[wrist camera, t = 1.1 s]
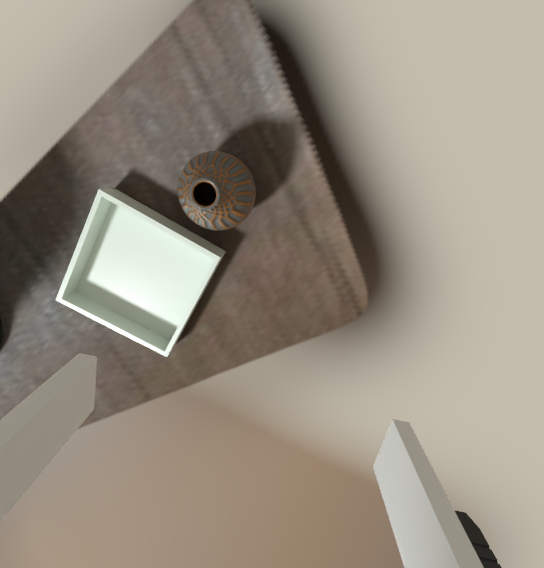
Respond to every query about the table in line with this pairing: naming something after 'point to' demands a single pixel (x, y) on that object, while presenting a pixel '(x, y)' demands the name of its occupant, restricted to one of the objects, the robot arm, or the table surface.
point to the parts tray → (138, 271)
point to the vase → (216, 190)
